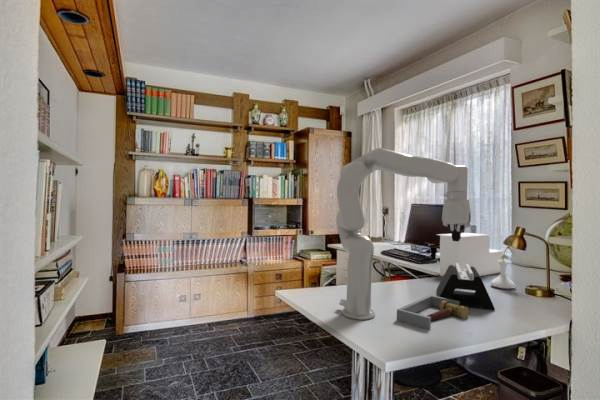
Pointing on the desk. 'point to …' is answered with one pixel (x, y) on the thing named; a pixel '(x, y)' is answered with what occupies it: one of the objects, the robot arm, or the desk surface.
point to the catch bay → (411, 310)
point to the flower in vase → (503, 275)
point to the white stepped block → (469, 253)
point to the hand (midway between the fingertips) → (456, 240)
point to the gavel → (449, 311)
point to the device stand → (466, 281)
